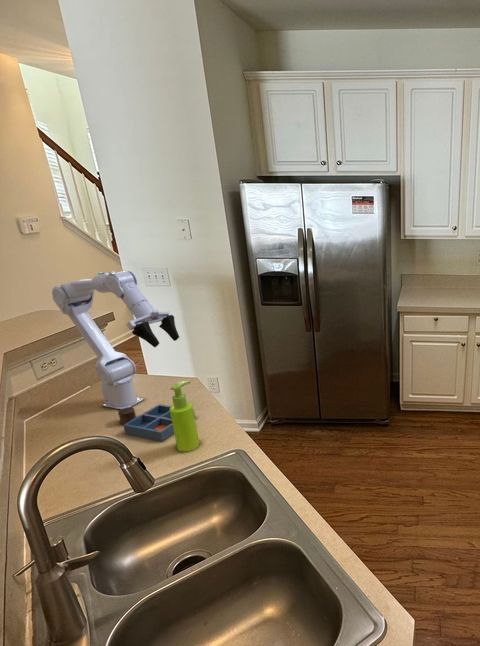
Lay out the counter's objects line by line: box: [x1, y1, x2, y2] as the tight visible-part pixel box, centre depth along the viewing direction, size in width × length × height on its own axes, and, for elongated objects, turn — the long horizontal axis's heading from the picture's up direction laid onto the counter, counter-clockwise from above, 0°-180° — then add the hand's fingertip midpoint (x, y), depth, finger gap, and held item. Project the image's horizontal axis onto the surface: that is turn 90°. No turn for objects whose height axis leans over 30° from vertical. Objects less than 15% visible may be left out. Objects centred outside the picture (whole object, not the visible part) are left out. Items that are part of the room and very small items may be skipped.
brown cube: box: [117, 406, 137, 426], centre depth 139 cm, size 4×4×4 cm
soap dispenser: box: [169, 380, 200, 452], centre depth 124 cm, size 6×7×20 cm
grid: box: [122, 403, 196, 442], centre depth 137 cm, size 14×14×3 cm
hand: (167, 342), depth 131 cm, fingers open, 7 cm apart
